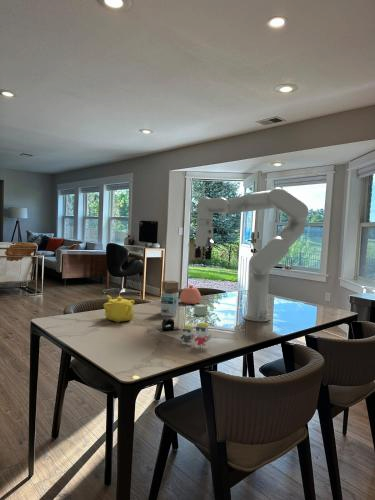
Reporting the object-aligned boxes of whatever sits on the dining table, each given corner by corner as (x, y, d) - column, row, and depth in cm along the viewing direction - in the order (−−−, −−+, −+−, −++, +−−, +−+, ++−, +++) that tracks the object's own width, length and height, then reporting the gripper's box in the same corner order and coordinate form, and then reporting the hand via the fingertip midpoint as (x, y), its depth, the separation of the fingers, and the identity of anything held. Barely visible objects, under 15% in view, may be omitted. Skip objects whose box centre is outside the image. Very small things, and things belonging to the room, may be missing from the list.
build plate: (158, 334, 141) (158, 323, 141) (150, 329, 147) (150, 318, 147) (185, 331, 147) (185, 320, 147) (176, 326, 154) (176, 316, 153)
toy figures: (178, 342, 130) (179, 320, 129) (185, 340, 133) (186, 318, 133) (206, 350, 123) (207, 326, 123) (213, 347, 127) (214, 323, 126)
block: (178, 292, 173) (178, 282, 173) (166, 293, 171) (167, 282, 170) (172, 290, 179) (173, 280, 178) (161, 291, 176) (162, 280, 176)
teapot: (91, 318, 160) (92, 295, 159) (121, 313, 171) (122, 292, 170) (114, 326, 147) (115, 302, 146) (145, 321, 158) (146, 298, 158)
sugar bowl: (178, 304, 198) (179, 286, 197) (180, 300, 212) (180, 282, 211) (201, 305, 197) (201, 287, 197) (200, 301, 211) (201, 283, 211)
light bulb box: (174, 316, 169) (175, 294, 169) (160, 315, 170) (161, 293, 170) (178, 311, 180) (179, 290, 179) (165, 310, 181) (166, 289, 181)
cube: (206, 315, 176) (207, 306, 175) (198, 315, 174) (199, 306, 173) (202, 313, 180) (202, 304, 179) (194, 313, 178) (194, 304, 177)
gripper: (220, 224, 169) (218, 260, 169) (202, 223, 184) (200, 257, 185) (207, 223, 165) (205, 260, 166) (189, 223, 180) (187, 257, 181)
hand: (202, 258), depth 175 cm, fingers open, 9 cm apart
